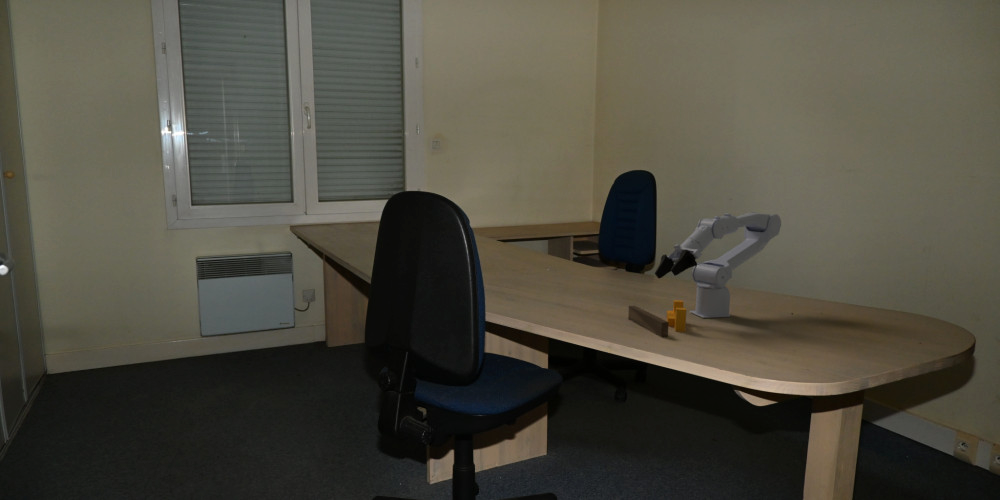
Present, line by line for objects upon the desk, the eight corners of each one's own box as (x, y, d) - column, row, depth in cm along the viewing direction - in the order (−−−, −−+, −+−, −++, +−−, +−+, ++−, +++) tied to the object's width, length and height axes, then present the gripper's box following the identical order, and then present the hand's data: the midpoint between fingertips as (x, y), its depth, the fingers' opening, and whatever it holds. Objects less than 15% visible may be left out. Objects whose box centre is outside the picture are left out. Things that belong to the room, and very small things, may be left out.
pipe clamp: (666, 321, 197) (667, 299, 196) (681, 322, 196) (682, 300, 195) (668, 331, 185) (670, 308, 184) (685, 332, 184) (686, 309, 183)
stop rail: (634, 318, 198) (635, 305, 198) (667, 336, 179) (668, 322, 178) (628, 319, 198) (628, 305, 197) (661, 337, 179) (661, 322, 178)
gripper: (670, 239, 203) (642, 266, 198) (701, 231, 190) (672, 260, 184) (683, 257, 204) (656, 285, 198) (715, 251, 190) (687, 280, 185)
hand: (665, 274), depth 191 cm, fingers open, 7 cm apart
